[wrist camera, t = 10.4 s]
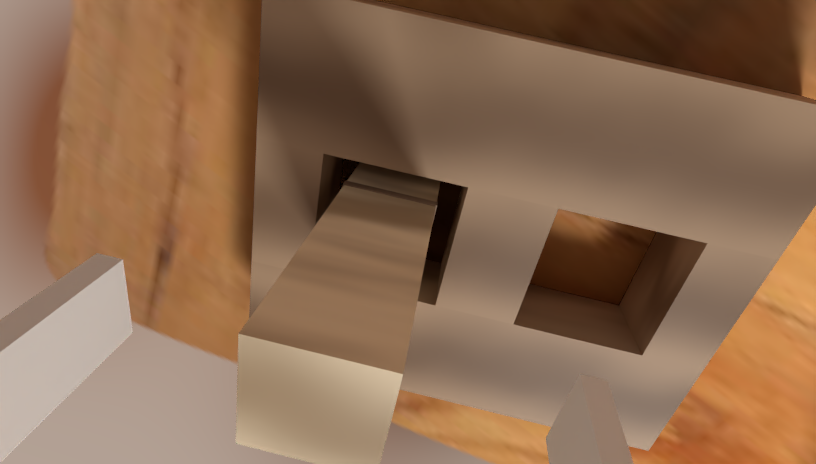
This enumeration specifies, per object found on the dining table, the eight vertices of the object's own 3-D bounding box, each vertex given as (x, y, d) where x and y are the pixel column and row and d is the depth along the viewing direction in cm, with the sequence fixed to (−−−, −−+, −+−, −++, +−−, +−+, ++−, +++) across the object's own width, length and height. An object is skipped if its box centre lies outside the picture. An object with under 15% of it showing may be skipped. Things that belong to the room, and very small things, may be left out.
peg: (364, 153, 23) (236, 331, 11) (443, 172, 23) (405, 372, 11) (353, 224, 25) (233, 444, 13) (426, 242, 25) (377, 480, 13)
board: (300, -17, 20) (262, -20, 17) (802, 96, 19) (875, 117, 16) (276, 307, 28) (248, 351, 25) (626, 393, 28) (648, 450, 24)
